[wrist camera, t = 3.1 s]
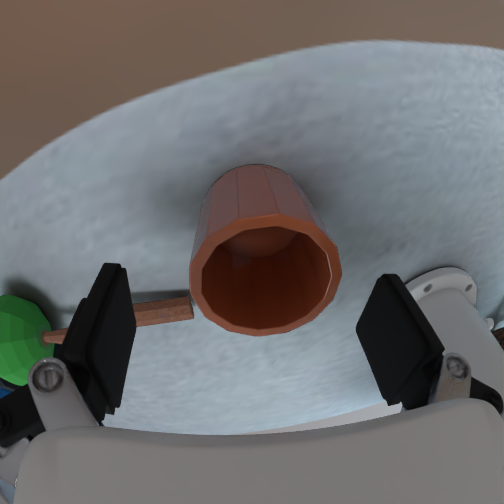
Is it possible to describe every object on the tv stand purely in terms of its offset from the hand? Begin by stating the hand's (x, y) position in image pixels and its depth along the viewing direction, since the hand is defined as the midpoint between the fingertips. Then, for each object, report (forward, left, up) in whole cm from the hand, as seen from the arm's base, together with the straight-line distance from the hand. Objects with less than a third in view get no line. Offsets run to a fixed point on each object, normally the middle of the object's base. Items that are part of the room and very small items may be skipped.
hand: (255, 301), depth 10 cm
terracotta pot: (-1, 0, -8) cm, 8 cm away
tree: (+13, +9, -8) cm, 18 cm away
